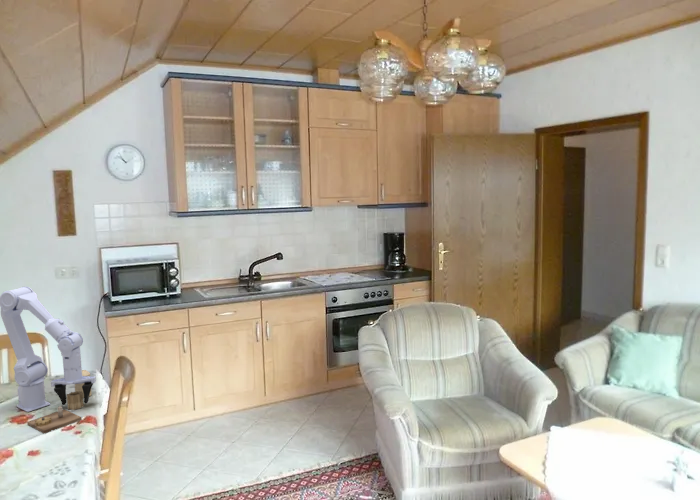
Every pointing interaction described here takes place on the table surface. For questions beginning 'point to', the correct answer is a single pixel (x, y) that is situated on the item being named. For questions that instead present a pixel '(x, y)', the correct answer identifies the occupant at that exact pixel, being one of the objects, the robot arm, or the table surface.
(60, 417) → the gear board
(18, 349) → the robot arm
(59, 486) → the table surface
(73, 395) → the maple gear
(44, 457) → the table surface
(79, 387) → the candle
